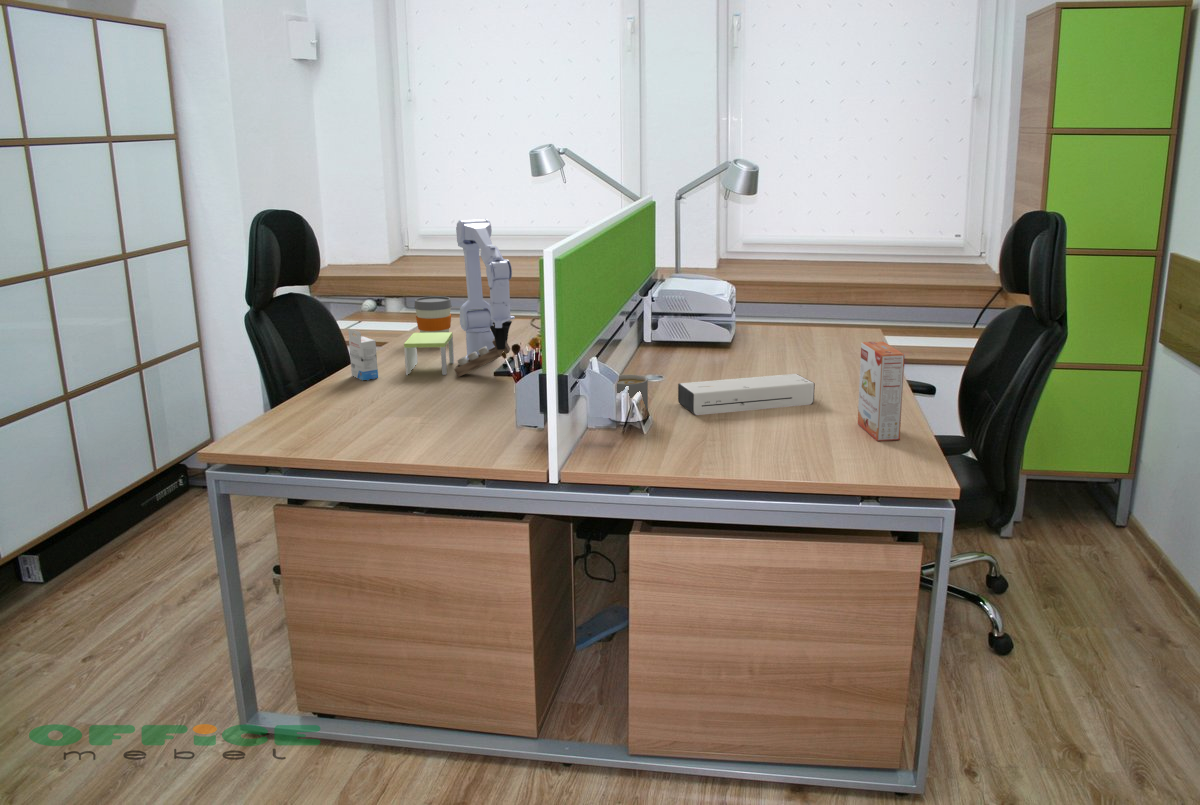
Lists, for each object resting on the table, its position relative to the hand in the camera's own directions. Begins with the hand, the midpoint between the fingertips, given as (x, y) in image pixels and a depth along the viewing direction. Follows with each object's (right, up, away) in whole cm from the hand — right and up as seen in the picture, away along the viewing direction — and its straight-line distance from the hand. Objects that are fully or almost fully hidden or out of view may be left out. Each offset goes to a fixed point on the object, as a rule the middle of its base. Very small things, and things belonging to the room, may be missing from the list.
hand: (502, 347), depth 301 cm
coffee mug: (+35, -21, -44) cm, 59 cm away
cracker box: (+96, -24, -59) cm, 115 cm away
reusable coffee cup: (-28, +4, +48) cm, 56 cm away
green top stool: (-23, -6, +11) cm, 26 cm away
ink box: (-41, -9, +1) cm, 42 cm away
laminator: (+68, -17, -32) cm, 77 cm away
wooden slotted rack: (-5, -5, +1) cm, 7 cm away
